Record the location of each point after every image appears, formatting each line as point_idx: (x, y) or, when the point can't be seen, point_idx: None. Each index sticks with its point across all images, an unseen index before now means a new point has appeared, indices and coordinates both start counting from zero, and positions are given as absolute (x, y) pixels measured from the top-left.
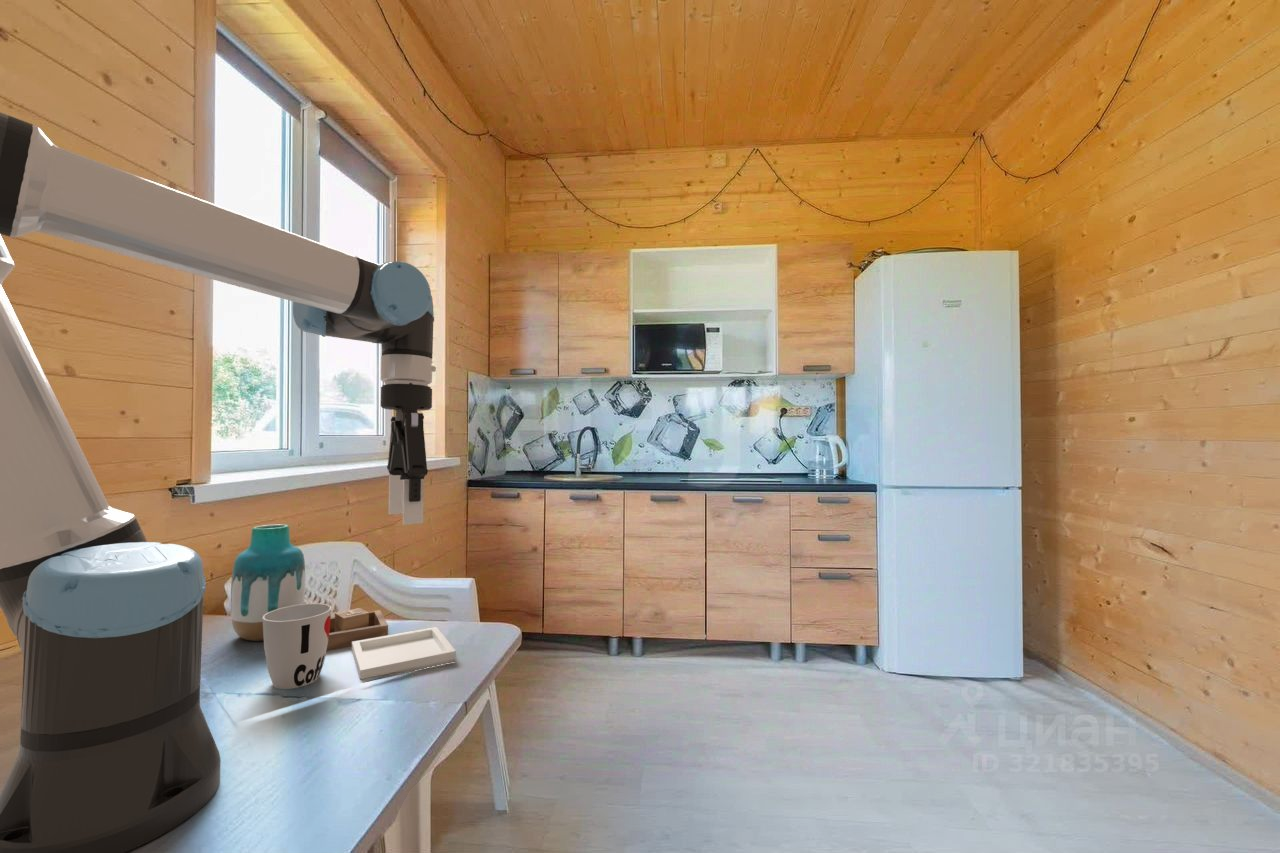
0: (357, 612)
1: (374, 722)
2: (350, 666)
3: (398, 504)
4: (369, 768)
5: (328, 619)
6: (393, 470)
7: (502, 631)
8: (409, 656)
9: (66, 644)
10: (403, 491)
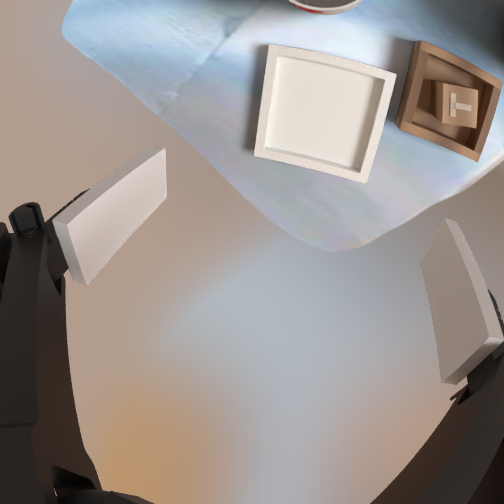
0: (453, 110)
1: (167, 42)
2: (342, 52)
3: (439, 264)
4: (105, 36)
5: (293, 3)
6: (492, 372)
7: (317, 241)
8: (305, 114)
9: None
10: (93, 195)
